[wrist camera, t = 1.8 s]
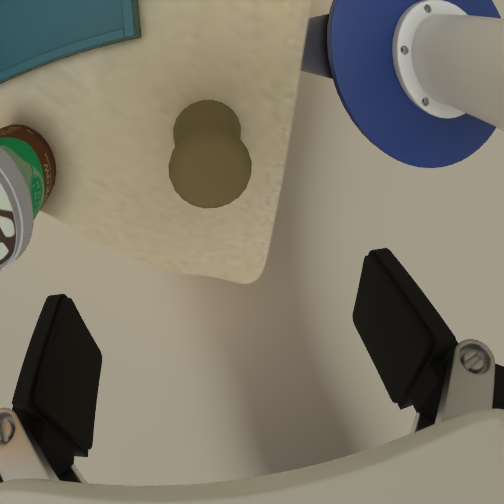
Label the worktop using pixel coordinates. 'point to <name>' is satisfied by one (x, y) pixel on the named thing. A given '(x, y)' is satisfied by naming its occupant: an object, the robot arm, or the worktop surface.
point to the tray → (60, 30)
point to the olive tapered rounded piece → (209, 155)
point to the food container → (22, 187)
